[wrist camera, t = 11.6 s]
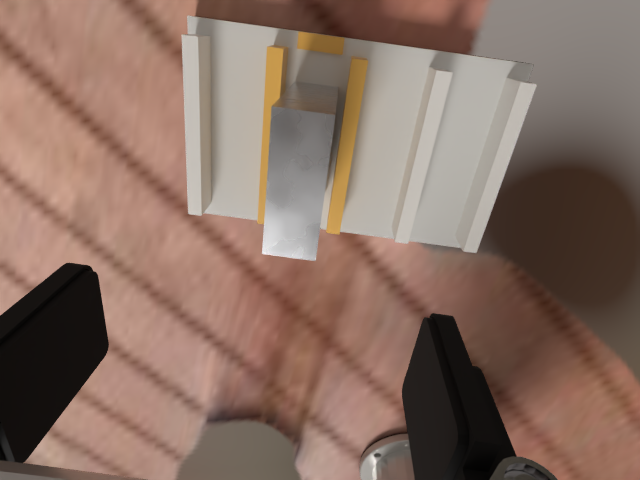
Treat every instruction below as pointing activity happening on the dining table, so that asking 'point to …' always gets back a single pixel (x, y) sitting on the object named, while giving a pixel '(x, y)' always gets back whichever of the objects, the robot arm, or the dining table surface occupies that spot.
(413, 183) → the rack
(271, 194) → the panel
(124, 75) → the dining table surface
